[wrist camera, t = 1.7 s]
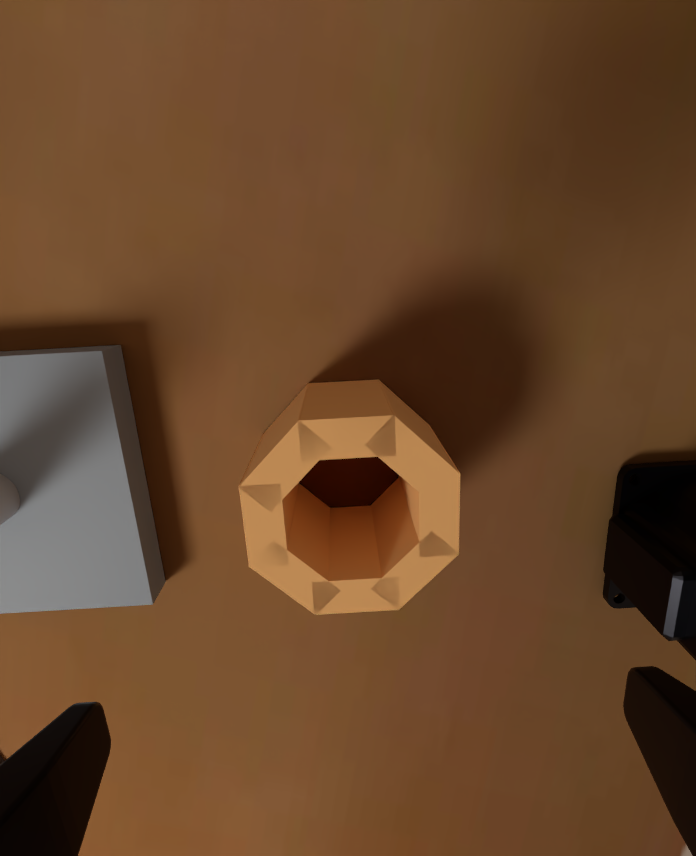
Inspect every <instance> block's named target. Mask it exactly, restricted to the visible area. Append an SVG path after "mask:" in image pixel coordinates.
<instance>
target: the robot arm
mask: <svg viewBox="0 0 696 856" xmlns="http://www.w3.org/2000/svg"><path fill="white" fill-rule="evenodd" d="M633 474H636V476H635V479H633V480H632V481H629V479H630V477H631V476H632V475H633ZM603 571H604V573H605V580H604V588H603V598H604V599H605V600H606V602H607V603H608V604H609V605H610V606H611V607H613V608H633V607H636V608H637V609H638V610H639V611H640V612H641V613H642V614H643V615H644V616H645V617H646V619H647V620H648V621H649V622H650V623H651V624H652V625H653V626H654V627H655V628H656V629H657V631H658V632H659V633H660V634H661V635H662V636H663V637H665V638H666V639H667V640H668V641H674V640H677V641H678V642H679V643H680V644H681V645H682V646H683V647H684V648H685V649H686V651H687V652H688V653H689V654H690V655H691V656H692V657H693V658H694V659H695V660H696V460H694V461H676V462H659V463H642V464H629V465H626V466H624V467H623V468H621V470H620V471H619V472H618V475H617V482H616V490H615V498H614V506H613V514H612V517H611V518H610V520H609V526H608V534H607V543H606V551H605V559H604V567H603ZM619 593H620V594H619ZM617 594H619V595H618V596H617V597H615V598H614V596H615V595H617ZM623 707H624V714H625V717H626V720H627V722H628V725H629V727H630V729H631V731H632V733H633V735H634V738H635V740H636V742H637V744H638V746H639V748H640V750H641V753H642V755H643V757H644V759H645V761H646V763H647V766H648V768H649V770H650V772H651V774H652V776H653V779H654V781H655V783H656V785H657V787H658V789H659V791H660V794H661V796H662V798H663V800H664V802H665V804H666V806H667V809H668V811H669V813H670V815H671V817H672V819H673V821H674V823H675V825H676V826H677V828H678V830H679V832H680V834H681V836H682V837H683V839H684V841H685V843H686V845H687V846H688V848H689V850H690V852H691V853H692V855H693V856H696V691H694V690H693V689H691V688H690V687H688V686H687V685H685V684H683V683H682V682H680V681H679V680H677V679H675V678H674V677H672V676H671V675H669V674H667V673H666V672H664V671H663V670H661V669H659V668H657V667H653V666H649V667H634V668H631V669H630V671H629V672H628V676H627V683H626V690H625V697H624V705H623ZM110 748H111V738H110V733H109V729H108V725H107V722H106V718H105V714H104V710H103V707H102V705H101V704H100V703H99V702H85V703H76V704H74V705H72V706H70V707H69V708H68V709H67V710H65V711H64V712H63V713H62V714H61V715H59V716H58V717H57V718H56V719H55V720H53V721H52V722H51V723H50V724H49V725H47V726H46V727H45V728H44V729H43V730H41V731H40V732H39V733H38V734H37V735H35V736H34V737H33V738H32V739H31V740H29V741H28V742H27V743H26V744H25V745H23V746H22V747H21V748H20V749H19V750H17V751H16V752H15V753H14V754H13V755H11V756H10V757H9V758H8V759H7V760H5V761H4V762H3V763H2V764H1V765H0V856H78V854H79V851H80V848H81V845H82V841H83V838H84V835H85V832H86V828H87V825H88V822H89V819H90V815H91V812H92V809H93V806H94V802H95V799H96V796H97V793H98V789H99V786H100V783H101V780H102V776H103V773H104V770H105V767H106V763H107V760H108V757H109V753H110Z"/></svg>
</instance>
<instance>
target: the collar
mask: <svg viewBox="0 0 696 856" xmlns="http://www.w3.org/2000/svg"><path fill="white" fill-rule="evenodd" d="M365 457H378V458H380V459H381V460H382V461H383V462H384V463H386V464H387V465H388V466H389V467H390V468H391V469H393V470H394V471H395V472H396V473H397V474H398V475H399V477H398V478H397V479H396V480H395V481H394V482H393V483H392V484H391V485H390V486H389V487H388V488H387V489H386V490H385V492H384V493H383V494H382V495H381V496H380V497H379V498H378V499H377V500H376V501H375V502H374V503H373V504H372V505H371V506H353V507H336V508H330V507H328V506H327V505H326V504H325V503H323V502H322V501H321V500H320V499H318V498H317V497H316V496H315V495H313V494H312V493H311V492H310V491H308V490H307V489H306V488H305V487H303V486H302V485H301V484H299V481H300V480H301V479H302V478H303V477H304V476H305V475H306V474H307V473H308V472H309V471H310V470H311V469H312V468H313V466H314V465H315V464H316V463H317V462H318V461H319V460H330V459H347V458H365ZM460 475H461V474H460V472H459V470H458V469H457V467H456V466H455V464H454V463H453V461H452V459H451V458H450V456H449V455H448V453H447V452H446V450H445V449H444V447H443V446H442V444H441V442H440V441H439V439H438V438H437V436H436V435H435V433H434V432H433V430H432V428H431V427H430V425H429V424H428V423H426V422H425V421H424V420H423V419H422V418H421V417H420V416H419V415H418V414H416V413H415V412H414V411H413V410H412V409H411V408H410V407H409V406H408V405H406V404H405V403H404V402H403V401H402V400H401V399H400V398H399V397H398V396H396V395H395V394H394V393H393V392H392V391H391V390H390V389H389V388H388V387H386V386H385V385H384V384H383V383H382V382H381V381H380V380H379V379H376V380H358V381H340V382H322V383H307V385H306V386H305V387H304V389H303V390H302V391H301V392H300V393H299V394H298V395H297V396H296V398H295V399H294V400H293V401H292V402H291V403H290V404H289V405H288V406H287V408H286V409H285V410H284V411H283V412H282V413H281V414H280V415H279V417H278V418H277V419H276V420H275V421H274V422H273V423H272V424H271V426H270V427H269V428H268V429H267V430H266V431H265V432H264V433H263V435H262V437H261V439H260V441H259V443H258V445H257V448H256V450H255V452H254V454H253V456H252V458H251V461H250V463H249V465H248V467H247V469H246V471H245V473H244V476H243V478H242V480H241V482H240V484H239V492H240V500H241V508H242V516H243V523H244V531H245V539H246V547H247V554H248V562H249V567H250V568H252V569H253V570H254V571H256V572H257V573H258V574H260V575H261V576H263V577H264V578H265V579H267V580H268V581H269V582H271V583H272V584H274V585H275V586H276V587H278V588H279V589H280V590H282V591H283V592H285V593H286V594H287V595H289V596H290V597H291V598H293V599H294V600H295V601H297V602H298V603H300V604H301V605H302V606H304V607H305V608H306V609H308V610H309V611H311V612H312V613H313V614H314V615H320V614H336V613H353V612H370V611H386V610H400V608H401V607H402V606H403V605H404V604H405V603H407V602H408V601H409V600H410V599H411V598H412V597H413V596H414V595H415V594H416V593H417V592H418V591H420V590H421V589H422V588H423V587H424V586H425V585H426V584H427V583H428V582H429V581H430V580H431V579H433V578H434V577H435V576H436V575H437V574H438V573H439V572H440V571H441V570H442V569H443V568H444V567H446V566H447V565H448V564H449V563H450V562H451V561H452V560H453V559H454V558H455V557H456V556H457V555H459V515H460Z"/></svg>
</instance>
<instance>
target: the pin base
mask: <svg viewBox="0 0 696 856" xmlns="http://www.w3.org/2000/svg"><path fill="white" fill-rule="evenodd" d="M165 582H166V581H165V576H164V571H163V565H162V560H161V555H160V550H159V544H158V539H157V534H156V528H155V523H154V518H153V513H152V507H151V502H150V497H149V491H148V486H147V481H146V476H145V470H144V465H143V460H142V455H141V449H140V444H139V439H138V433H137V428H136V423H135V418H134V412H133V407H132V402H131V396H130V391H129V386H128V381H127V375H126V370H125V365H124V359H123V354H122V349H121V345H110V346H92V347H73V348H55V349H37V350H19V351H1V352H0V614H2V613H18V612H35V611H52V610H68V609H85V608H102V607H119V606H135V605H152V604H153V603H154V602H155V600H156V598H157V596H158V594H159V593H160V591H161V589H162V587H163V585H164V584H165Z"/></svg>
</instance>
